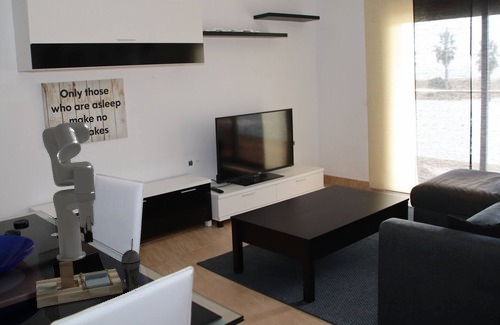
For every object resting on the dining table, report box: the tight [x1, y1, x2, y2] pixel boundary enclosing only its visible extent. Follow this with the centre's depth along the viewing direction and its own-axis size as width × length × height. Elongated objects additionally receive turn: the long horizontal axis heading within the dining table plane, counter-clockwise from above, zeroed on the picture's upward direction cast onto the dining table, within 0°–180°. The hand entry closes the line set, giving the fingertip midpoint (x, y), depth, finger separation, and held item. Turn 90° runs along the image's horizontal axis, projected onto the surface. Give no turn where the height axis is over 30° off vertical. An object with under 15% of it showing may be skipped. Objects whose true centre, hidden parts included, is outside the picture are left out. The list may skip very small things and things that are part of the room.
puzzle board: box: [35, 268, 124, 309], centre depth 198 cm, size 18×30×4 cm, turn 113°
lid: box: [85, 270, 110, 288], centre depth 197 cm, size 8×8×2 cm
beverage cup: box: [120, 237, 141, 292], centre depth 197 cm, size 7×7×20 cm
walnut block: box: [58, 260, 75, 289], centre depth 196 cm, size 4×4×10 cm
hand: (88, 242), depth 203 cm, fingers closed
